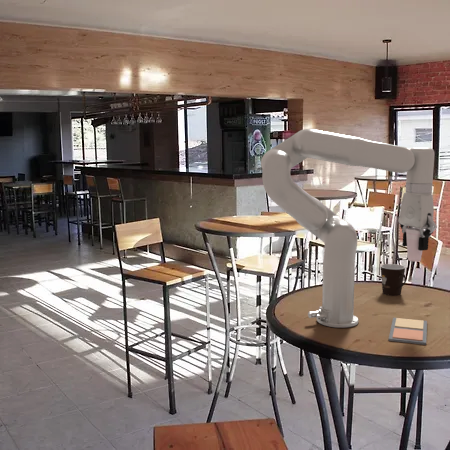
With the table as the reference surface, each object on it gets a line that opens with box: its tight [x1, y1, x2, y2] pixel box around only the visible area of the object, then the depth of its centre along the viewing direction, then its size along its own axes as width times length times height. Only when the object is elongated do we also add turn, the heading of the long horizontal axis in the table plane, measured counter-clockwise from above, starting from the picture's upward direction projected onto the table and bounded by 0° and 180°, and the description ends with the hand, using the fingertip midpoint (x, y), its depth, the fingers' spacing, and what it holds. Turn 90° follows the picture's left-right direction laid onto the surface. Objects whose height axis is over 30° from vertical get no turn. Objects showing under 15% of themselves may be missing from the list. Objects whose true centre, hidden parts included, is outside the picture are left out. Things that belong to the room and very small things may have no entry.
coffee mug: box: [380, 263, 407, 297], centre depth 208 cm, size 12×9×10 cm
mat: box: [388, 317, 428, 346], centre depth 169 cm, size 20×10×1 cm, turn 160°
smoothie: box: [405, 227, 425, 263], centre depth 175 cm, size 6×6×14 cm
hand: (414, 247), depth 175 cm, fingers closed on smoothie, 6 cm apart
